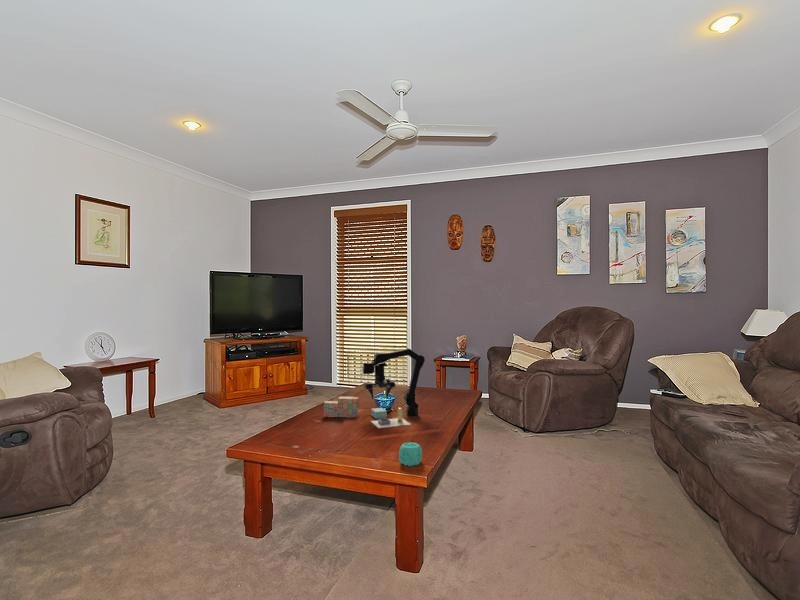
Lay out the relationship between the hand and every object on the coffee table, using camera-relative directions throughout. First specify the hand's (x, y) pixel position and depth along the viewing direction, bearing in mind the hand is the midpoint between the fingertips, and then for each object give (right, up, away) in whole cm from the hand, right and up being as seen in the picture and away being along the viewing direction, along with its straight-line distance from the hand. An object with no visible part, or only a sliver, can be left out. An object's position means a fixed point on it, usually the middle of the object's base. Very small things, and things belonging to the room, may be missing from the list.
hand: (379, 398), depth 269 cm
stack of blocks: (-24, -13, +6) cm, 28 cm away
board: (+7, -12, -14) cm, 20 cm away
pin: (+13, -11, -11) cm, 20 cm away
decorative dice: (+17, -13, -73) cm, 76 cm away
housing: (-1, -13, +1) cm, 12 cm away
